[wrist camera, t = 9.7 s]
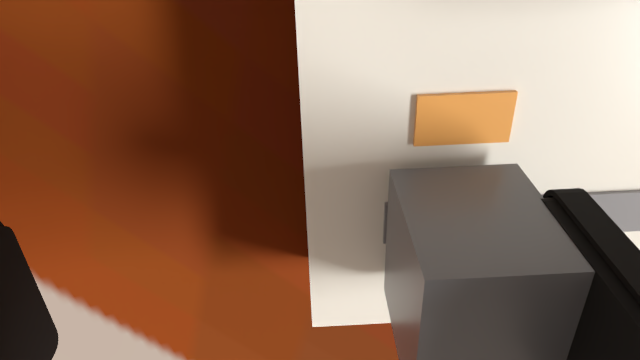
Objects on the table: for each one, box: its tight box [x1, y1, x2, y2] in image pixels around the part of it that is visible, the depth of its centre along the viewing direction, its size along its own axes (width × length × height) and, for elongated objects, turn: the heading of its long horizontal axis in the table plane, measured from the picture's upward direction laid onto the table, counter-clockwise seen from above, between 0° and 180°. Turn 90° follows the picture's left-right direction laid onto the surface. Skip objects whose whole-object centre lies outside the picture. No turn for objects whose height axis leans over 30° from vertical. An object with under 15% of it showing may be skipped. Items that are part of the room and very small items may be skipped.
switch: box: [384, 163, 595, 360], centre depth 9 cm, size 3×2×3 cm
